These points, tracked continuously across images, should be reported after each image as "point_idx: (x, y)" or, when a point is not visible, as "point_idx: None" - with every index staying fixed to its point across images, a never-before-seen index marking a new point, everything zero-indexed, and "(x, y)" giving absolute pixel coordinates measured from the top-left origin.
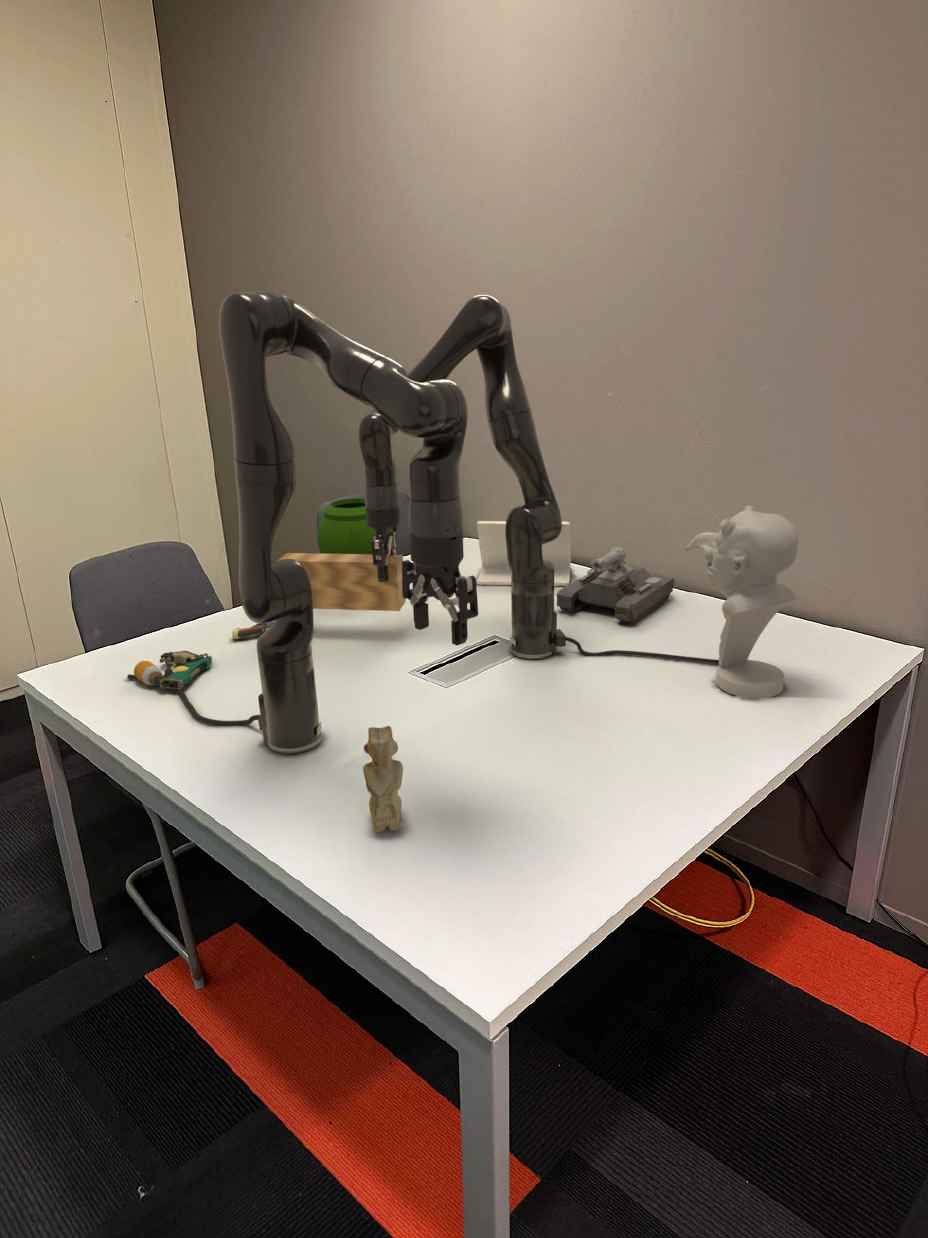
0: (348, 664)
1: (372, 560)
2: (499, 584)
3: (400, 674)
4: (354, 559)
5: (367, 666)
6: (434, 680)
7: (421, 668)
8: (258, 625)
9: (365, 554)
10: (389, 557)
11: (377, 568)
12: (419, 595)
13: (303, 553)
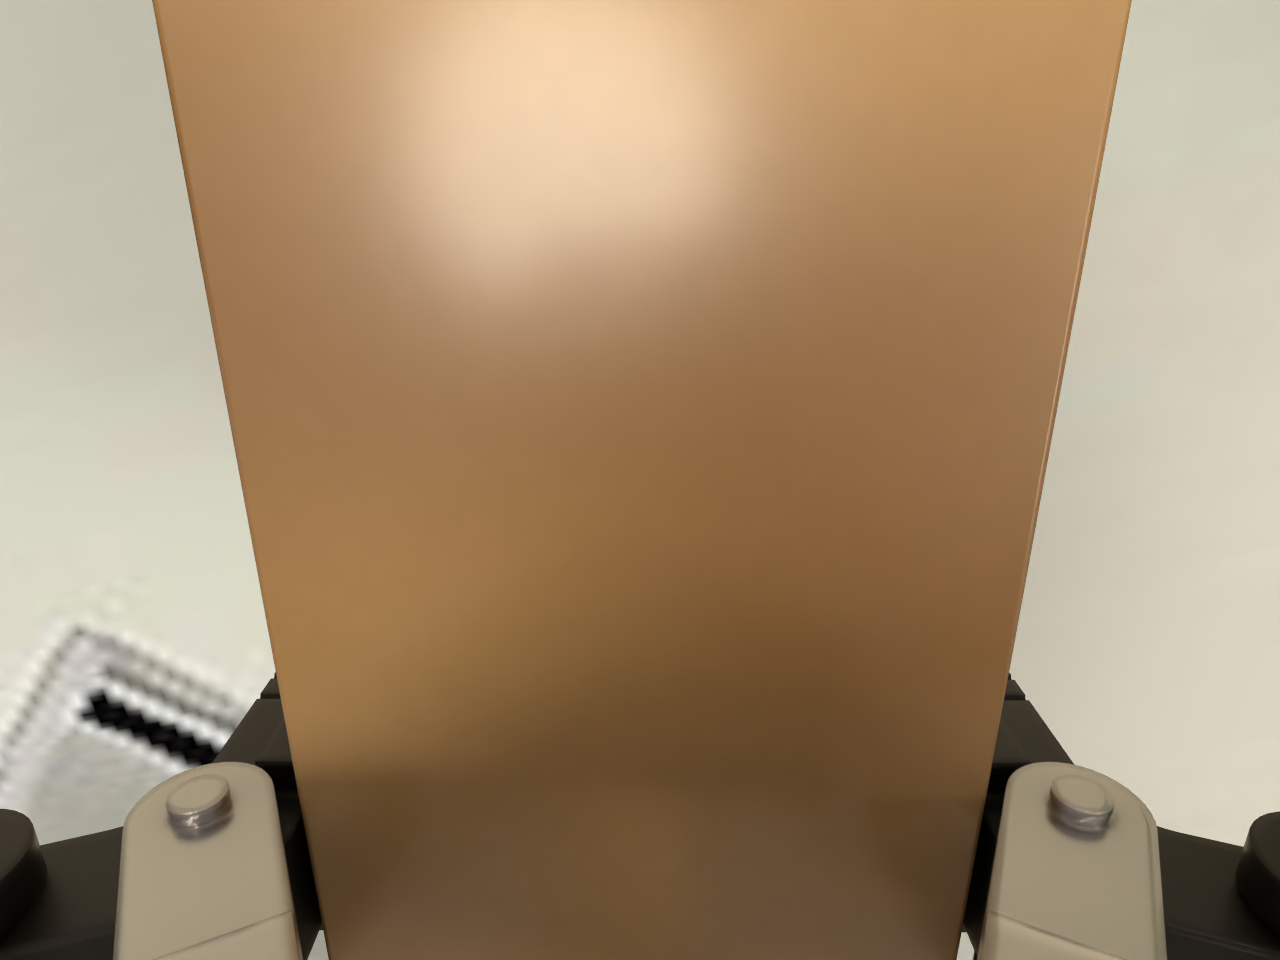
0: (56, 196)
1: (450, 651)
2: None
3: (31, 589)
4: (479, 81)
5: (72, 351)
6: (26, 775)
7: (158, 684)
8: None
9: (1049, 306)
10: (737, 940)
11: (282, 724)
12: None
13: None
